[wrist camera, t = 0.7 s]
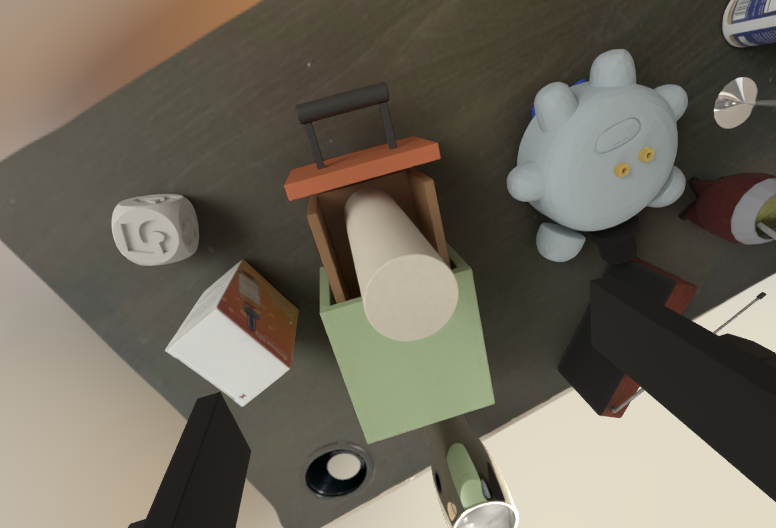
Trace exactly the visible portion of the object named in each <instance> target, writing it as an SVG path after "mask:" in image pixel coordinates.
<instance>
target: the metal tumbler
mask: <svg viewBox="0 0 776 528" xmlns="http://www.w3.org/2000/svg"><path fill="white" fill-rule="evenodd" d="M421 428H422V429H423V431H424V433H425V435H426V437H427V440H428V444H429V451H430V460H431V469H432V476H433V482H434V487H435V490H436V494H437V498H438V501H439V504H440V507H441V510H442V512H443V515H444V517H445V520H446V523H447V525H448V528H516V527H517V525H518V522H519V514H518V511H517V509H516V508H515V505H514V503H513V500H512V497H511V495H510V492H509V490H508V487H507V485H506V483H505V481H504V478H503V476H502V474H501V472H500V470H499V468H498V466H497V464H496V463H495V461H494V459H493V458H492V456H491V455H490V453H489V452H488V450H487V449H486V447H485V446H484V445H483V443H482V442H481V441H480V439H479V438H478V437H477V436H476V434H475V433H474V431H473V430H472V429H471V427H470V425H469V424H468V421H467V419H466V416H465V413H464V414H461V415H458V416H455V417H451V418H448V419H445V420H442V421H439V422H436V423H433V424H430V425H426V426H423V427H421Z"/></svg>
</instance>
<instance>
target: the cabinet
mask: <svg viewBox="0 0 776 528" xmlns="http://www.w3.org/2000/svg"><path fill="white" fill-rule="evenodd" d="M446 246H447V251H448V256H449V261H450V266H451V270H452V272H453V274H454V275H455V278H456V280H457V283H458V289H459V297H458V303H457V306H456V309H455V311H454V313H453V315H452V317H451V318H450V320H449V321H448V322H447V323H446V324H445V325H444V326H443V327H442V328H441V329H440V330H439V331H437V332H436V333H434V334H432V335H430V336H428V337H426V338H423V339H419V340H415V341H398V340H394V339H391V338H388V337H386V336H384V335H382V334H381V333H379V332H378V331H377V330H376V329H375V328H374V327H373V326H372V325H371V324H370V322H369V320H368V319H367V316H366V314H365V310H364V305H363V301H362V296H361V297H358V298H355V299H351V300H348V301H345V302H341V303H338V304H337V303H336V300H335V297H334V294H333V291H332V288H331V286H330V283H329V280H328V277H327V274H326V271H325V268H324V267H321V268H320V316H321V319H322V321H323V324H324V327H325V329H326V332H327V335H328V338H329V340H330V343H331V346H332V349H333V351H334V354H335V357H336V359H337V362H338V365H339V368H340V370H341V373H342V376H343V378H344V381H345V384H346V387H347V389H348V392H349V395H350V397H351V400H352V403H353V406H354V408H355V411H356V414H357V416H358V419H359V422H360V425H361V427H362V430H363V433H364V435H365V438H366V441H367V443H368V444H370V443H373V442H376V441H380V440H383V439H386V438H389V437H392V436H395V435H398V434H401V433H405V432H408V431H411V430H414V429H417V428H420V427H423V426H426V425H430V424H433V423H436V422H439V421H442V420H445V419H448V418H451V417H455V416H458V415H461V414H464V413H467V412H470V411H473V410H476V409H480V408H483V407H486V406H489V405H492V404H495V400H494V395H493V389H492V383H491V377H490V372H489V366H488V360H487V354H486V348H485V343H484V337H483V331H482V325H481V320H480V314H479V308H478V302H477V296H476V291H475V285H474V279H473V273H472V269H471V267H470V266H469V265H468V264H467V263H466V262H465V261H464V260H463V259H462V258H461V257H460V256H459V255H458V254H457V253H456V252H455V251H454V250H453V249H452V247H451V246H450V245H449V244H448V243H447V242H446Z"/></svg>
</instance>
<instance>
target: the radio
mask: <svg viewBox="0 0 776 528" xmlns="http://www.w3.org/2000/svg"><path fill="white" fill-rule="evenodd" d="M608 275H611V276H612V277H614V278H616V279H618V280H620V281H621V282H623V283H625V284H627V285H629V286H630V287H632V288H634V289H636V290H637V291H639V292H641V293H643V294H645V295H646V296H648V297H650V298H652V299H654V300H655V301H657V302H659V303H661V304H662V305H664V306H666V307H668V308H670V309H671V310H673V311H675V312H677V313H678V314H680V315H682V314H683V312H684V310H685V309H686V307H687V305H688V304H689V302H690V300H691V298H692V297H693V295H694V293H695V292H696V289H697V288H696V286H695V285H694V284H692V283H690V282H688V281H685V280H683V279H681V278H679V277H677V276H675V275H673V274H670V273H668V272H666V271H664V270H662V269H660V268H658V267H656V266H653V265H651V264H649V263H647V262H645V261H643V260H641V259H638V258H636V257H634V258H632V259H631V260H630V261H627V262H624V263H620V264H612V263H609V265H608V267H607V269H606V271H605V273H604V275H603V277H605V276H608ZM765 295H766V294H765V293H764V292H762V293H760V294H759V295H758V296H757V298H756V299H755V300H753V301H752V302H751V303H750V304H748V305H747V306H746V307H745V308H744V309H742V310H741V311H740V312H738V313H737V314H736V315H735V316H733V317H732V318H731V319H730V320H728V321H727V322H726V323H724V324H723V325H722V326H721V327H719V328H718V329H717V330H716V331H714V332H713V333H714V334H715V333H717V332H718V331H719V330H720V329H722V328H723V327H724V326H726V325H727V324H728V323H729V322H731V321H732V320H733V319H734V318H736V317H737V316H738V315H739V314H741V313H742V312H743V311H744V310H746V309H747V308H748V307H750V306H751V305H752V304H753V303H755V302H756V301H757V300H759V299H762V298H763V297H764V296H765ZM558 371H559V372H560V373H561V375H562V376H563V377H564V378H565V379H566V380H567V381H568V382H569V383H570V384H571V386H572V387H573V388H574V389H575V390H576V391H577V392H578V393H579V394H580V395H581V397H582V398H583V399H584V400H585V401H586V402H587V403H588V404H589V405H590V406H591V407H592V409H593V410H594V411H595V412H596V413H597V414H598V415H600V416H608V417H616V418H621V417H622V415H623V414H624V412H625V410H626V409H627V407H628V405H629V403H630V402H631V401H632V400H633V399H634V398H635V397H637V396H638V395H639V394H641V393H642V392H643V391H644V389H643V388H641V389H640V390H639V391H638V392H637V390H638V388H639V387H640V386H639V385H638V384H637V383H636V382H635V381H633V380H632V379H631V378H630V377H629V376H628V375H626V374H625V373H624V372H623V371H622V370H621V369H619V368H618V367H617V366H616V365H615V364H614V363H612V362H611V361H610V360H609V359H608V358H607V357H605V356H604V355H603V354H602V353H601V352H599V351H598V350H597V349H596V348H595V347H594V346H592V337H591V307H590V303H589V305H588V307H587V309H586V311H585V313H584V315H583V317H582V319H581V321H580V323H579V325H578V327H577V329H576V331H575V333H574V335H573V337H572V339H571V341H570V343H569V345H568V347H567V349H566V351H565V353H564V355H563V357H562V359H561V361H560V363H559V365H558Z"/></svg>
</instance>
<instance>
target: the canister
mask: <svg viewBox="0 0 776 528" xmlns="http://www.w3.org/2000/svg"><path fill="white" fill-rule="evenodd" d="M344 219H345V224H346V228H347V233H348V237H349V242H350V246H351V251H352V255H353V260H354V265H355V269H356V274H357V278H358V283H359V287H360V292H361V296H362V301H363V305H364V310H365V314H366V316H367V319H368V320H369V322H370V324H371V325H372V326H373V327H374V328H375V329H376V330H377V331H378V332H379V333H381V334H382V335H384V336H386V337H388V338H391V339H394V340H398V341H415V340H419V339H423V338H426V337H428V336H430V335H432V334H434V333H436V332H437V331H439V330H440V329H441V328H442V327H443V326H444V325H445V324H446V323H447V322H448V321H449V320H450V318H451V317H452V315H453V313H454V311H455V309H456V306H457V303H458V297H459V289H458V283H457V280H456V278H455V275H454V274H453V272H452V270H451V269H450V268H449V267H448V266H447V264H446V263H445V262H444V261H443V259H442V258H441V257H440V256H439V254H438V253H437V252H436V251H435V250H434V248H433V247H432V246H431V245H430V243H429V242H428V241H427V240H426V239H425V237H424V236H423V235H422V234H421V232H420V231H419V230H418V229H417V227H416V226H415V225H414V224H413V223H412V221H411V220H410V219H409V218H408V216H407V215H406V214H405V213H404V212H403V210H402V209H401V208H400V207H399V205H398V204H397V203H396V202H395V201H394V199H393V198H392V197H391V196H390V195H389V194H388V193H387V192H386V191H384V190H382V189H380V188H376V187H366V188H362V189H360V190H358V191H356V192H355V193H353V194H352V195H351V196H350V197H349V199H348V200H347V202H346V205H345V208H344Z"/></svg>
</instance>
